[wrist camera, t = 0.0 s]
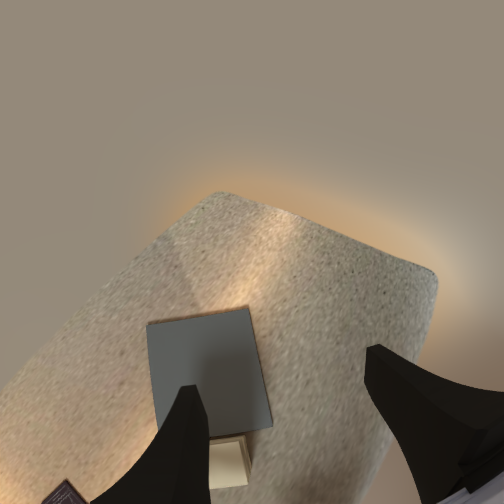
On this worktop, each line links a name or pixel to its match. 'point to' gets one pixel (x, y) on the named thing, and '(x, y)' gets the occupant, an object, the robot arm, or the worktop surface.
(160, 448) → the robot arm
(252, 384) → the mat
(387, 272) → the worktop surface
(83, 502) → the chocolate bar
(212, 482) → the birch block
